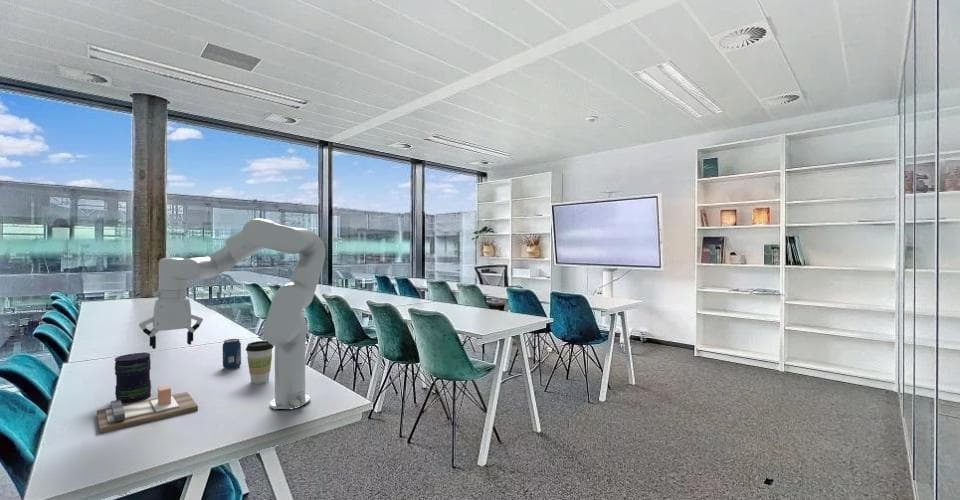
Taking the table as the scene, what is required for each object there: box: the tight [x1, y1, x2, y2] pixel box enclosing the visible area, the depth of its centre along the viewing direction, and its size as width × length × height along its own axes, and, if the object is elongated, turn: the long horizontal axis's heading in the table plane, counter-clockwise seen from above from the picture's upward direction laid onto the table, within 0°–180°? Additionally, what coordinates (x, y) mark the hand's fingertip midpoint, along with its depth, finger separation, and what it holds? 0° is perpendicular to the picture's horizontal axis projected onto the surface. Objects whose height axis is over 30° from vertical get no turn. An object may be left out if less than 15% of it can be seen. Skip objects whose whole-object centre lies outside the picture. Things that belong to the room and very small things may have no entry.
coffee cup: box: [245, 340, 275, 384], centre depth 168 cm, size 10×10×15 cm
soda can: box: [222, 338, 242, 370], centre depth 186 cm, size 7×7×12 cm
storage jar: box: [114, 352, 152, 405], centre depth 150 cm, size 10×10×15 cm
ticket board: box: [96, 391, 199, 434], centre depth 138 cm, size 18×24×4 cm
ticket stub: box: [151, 385, 179, 412], centre depth 141 cm, size 12×6×5 cm, turn 44°
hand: (171, 345), depth 142 cm, fingers open, 9 cm apart
